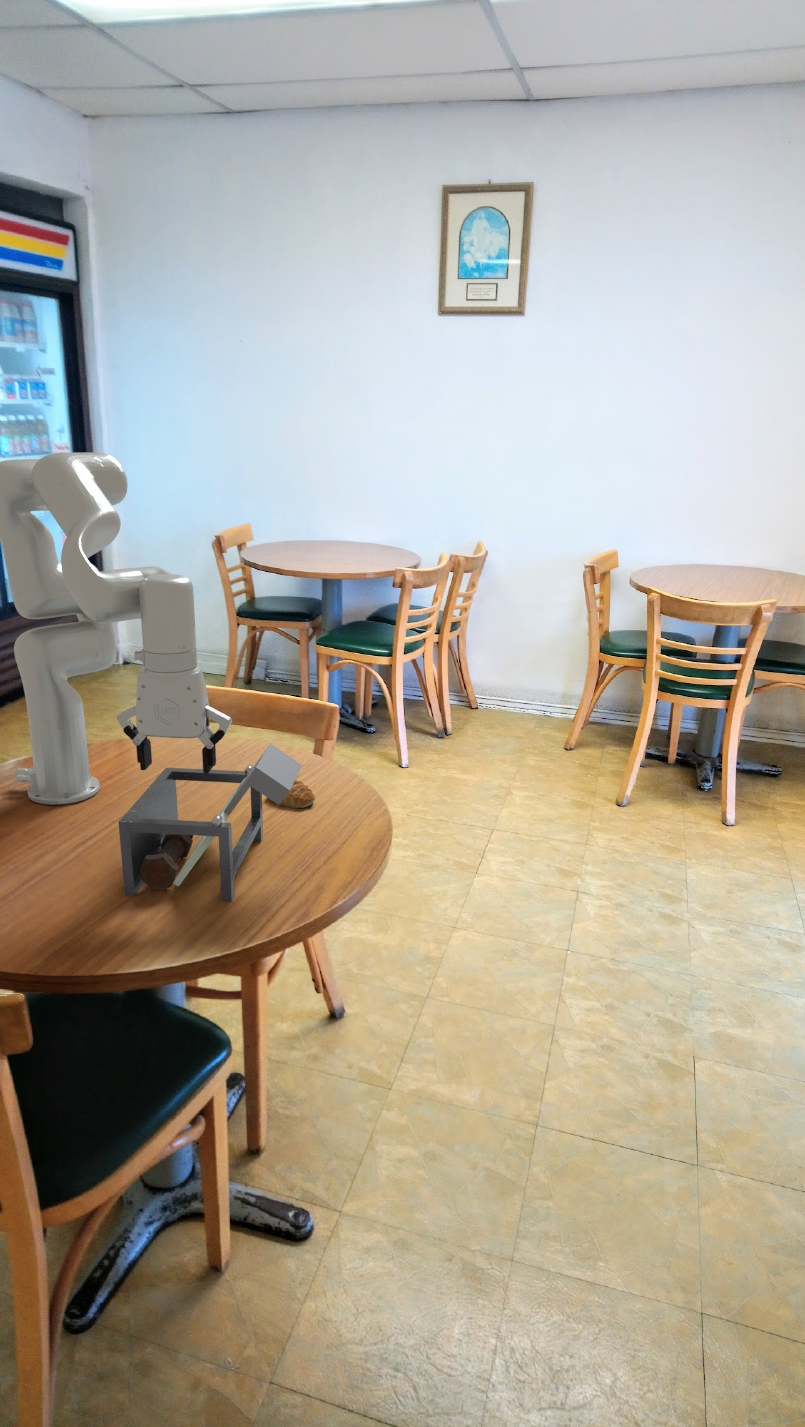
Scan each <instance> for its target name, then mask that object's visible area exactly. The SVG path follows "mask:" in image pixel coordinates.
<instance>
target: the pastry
mask: <svg viewBox="0 0 805 1427" xmlns="http://www.w3.org/2000/svg"><path fill="white" fill-rule="evenodd" d="M315 798H316V796H315V795H314V793H313V791H312V789H310V788H309V787H308V785H306V784H304V783H303V782H302V781H301V780H297V778H296V779H295V781H294V783H293V785H292V787H291V789H290V791H289V792H288V794H287V795H286V796H285V798H284V799H283V800H282V802H281V803H280V804H279V806H280V805H282V806H284V807H289V808H292V809H293V808H294V809H299V808H301V809H305V808H307V807H309V806H312V805H313V804H314V801H315ZM271 801H272V800H271ZM272 802H273V801H272Z"/></svg>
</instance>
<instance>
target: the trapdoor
mask: <svg viewBox="0 0 805 1427" xmlns="http://www.w3.org/2000/svg"><path fill="white" fill-rule="evenodd" d="M302 766H303V765H302V764H301V763H299V762H298V761H297V760H295V759H294V758H292V757H291V756H289V755H288V754H287V753H286V752H283V751H282V750H280V749H279V748H278V747H276V745H274V744H272V743H269V745H268V746H267V748H266V749H265V750H264V752H263V753H262V754H261V756H260V757H259V759H257V762H256V763H255V764H254V765H253V768H252V770H251V771H250V772H249V774H248V775H247V777H245V778H244V780H243V781H242V782H241V783H239V785H238V787H236V789H235V791H234V792H233V794H232V795H231V796H230V797H229V799H228V800H227V802H226V803H225V804H224V806H223V807H222V808H221V810H220V812H219V813H218V814H217V815H221V816H222V817H223V820H222V823H227V822H226V821H227V820H228V818H229V817H230V815H231V814H232V812H233V811H234V810H235V808H236V807H238V806H237V805H238V804H239V803H240V802H241V800H242V799H243V798H244V796H245V795H246V794H247V792H248V791H249V789H251V787H253V788H254V789H256V790H257V791H259V792H260V793H261V794H262V796H264V797H266V798H267V799H269V800H272V802H273V803H275V804H276V805H277V806H280V803H281V802H282V800H283V799H284V798H285V796H286V795H287V794H288V792H289V791H290V789H291V787H292V785H293V783H294V781H295V779H296V780H297V776H298V775H299V773H300V770H301V768H302ZM250 786H251V787H250ZM215 838H216V836H202V837H201V838H200V840H199V841H198V843H197V845H196V846H195V848H194V849H193V851H192V853H191V854H190V856H189V857H188V859H187V860H186V862H185V863H184V865H183V866H182V868H181V869H180V872H179V873H177V875H176V877H175V880H174V882H173V885H175V886H177V887H180V885H181V884H182V883H183V882H184V880H185V879H186V878H187V876H188V874H190V872H191V870H192V869H193V867H194V866H195V865H196V864H197V862H198V860H200V858H201V857H202V855H203V854H204V853H205V851H206V850H207V848H208V847H209V846H210V845H211V843H212V841H213V840H214V839H215Z"/></svg>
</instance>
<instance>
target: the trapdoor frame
mask: <svg viewBox="0 0 805 1427" xmlns="http://www.w3.org/2000/svg"><path fill="white" fill-rule="evenodd" d="M253 767H254V765H253V764H248V765H247V766H246V768H245V769H244V771H243V770H228V769H227V770H226V769H225V770H224V769H223V770H222V769H211V770H210V772H209V773H204V772H203V768H186V767H185V768H182V767H181V768H180V767H164V770H163V771H162V772H161V773H160V774H158V776H157V777H156V778H155V779H154V781H152V783H151V784H150V785H149V786H148V788H147V789H146V790H145V791H144V792H143V793H142V794H141V795H140V797H139V798H138V799H137V800H136V801H135V802H134V803H133V804H132V806H131V807H130V808H129V809H128V810H127V811H126V812H125V813H124V815H123V816H122V817H121V819H119V821H118V831H119V843H120V844H119V846H120V854H121V868H122V878H123V890H124V896H125V897H136V896H137V893H139V891H140V890H141V889H142V887H143V885H144V884H145V883H144V882H143V881H142V879H141V878H140V876H139V873H140V870H141V867H142V864H143V862H144V859H145V858H146V856H148V855H156V854H158V853H159V852H160V850H161V845H162V842H163V839H164V837H165V834H180V835H193V836H202V837H203V836H215V837H218V848H219V849H218V852H219V874H220V875H219V876H220V895H221V897H220V898H221V902H227V903H228V902H229V903H233V900H234V898H235V884H234V879H235V877H236V875H237V873H238V872H239V870H240V867H241V865H242V862H243V861H244V859H245V857H246V855H247V853H248V851H249V850H250V847H251V845H252V843H253V842H258V843H261V842H262V841H263V839H264V826H263V825H264V824H263V822H264V821H263V820H264V818H263V794H261V793H260V792H259V791H257V790H256V789H254V788H253V787H251V786H250V807H251V808H250V809H251V810H250V812H251V817H250V819H249V821H248V823H247V824H246V825H245V828H244V830H243V831H242V833H241V836H240V837H239V839H238V841H237V842H236V845H235V847H234V849H233V836H232V835H233V834H232V833H233V832H232V830H233V829H232V822H225V823H222V820H223V817H222V816H221V815H218V814H216V815H214V817H213V819H212V821H202V820H201V821H200V820H179V811H178V796H177V794H178V793H177V781H187V782H189V781H190V782H192V781H193V782H210V783H211V782H212V783H213V782H214V783H227V784H228V783H230V784H231V783H232V784H233V783H234V784H241V782H242V781H243V780H244V778H245V777H247V775H248V774H249V772H250V771H251V770H252V768H253Z"/></svg>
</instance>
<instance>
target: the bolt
mask: <svg viewBox="0 0 805 1427" xmlns="http://www.w3.org/2000/svg"><path fill="white" fill-rule="evenodd" d="M193 838H194V835H180V834H165V837H164V839H163V842H162V845H161V850H160V852H159V853H158V854H156V855H148V856H146V858H145V859H144V862H143V864H142V867H141V870H140V873H139V876H140V878H141V879H142V881H143V882H144V884H145V885H146V886H147V887H148V888H150V890H154V891H155V890H158V891H159V890H164V889H169V888H172V887H173V885H174V883H173V882H174V880H175V879H176V877H177V876H178V871H179V869H180V867H179V865H178V862H179V861H180V859H184V858H187V857H188V855H189V853H190V851H191V848H192V845H193Z"/></svg>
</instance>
